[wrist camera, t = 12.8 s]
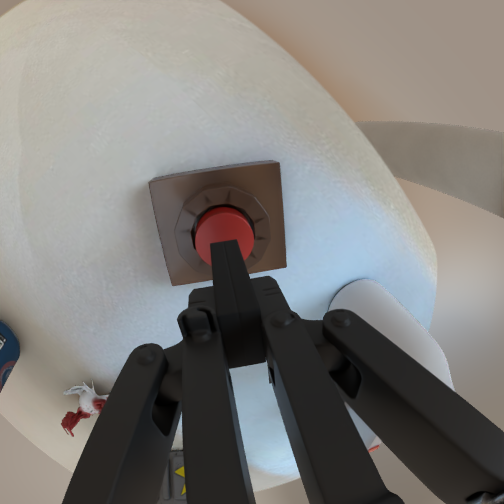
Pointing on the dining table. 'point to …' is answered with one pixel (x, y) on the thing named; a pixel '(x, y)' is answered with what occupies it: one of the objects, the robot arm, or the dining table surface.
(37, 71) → the dining table surface
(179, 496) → the decorative lamp
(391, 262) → the dining table surface
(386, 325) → the milk bottle
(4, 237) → the dining table surface
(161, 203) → the button block
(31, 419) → the dining table surface
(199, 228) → the button
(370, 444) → the tap handle
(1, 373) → the soda can
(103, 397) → the figurine
